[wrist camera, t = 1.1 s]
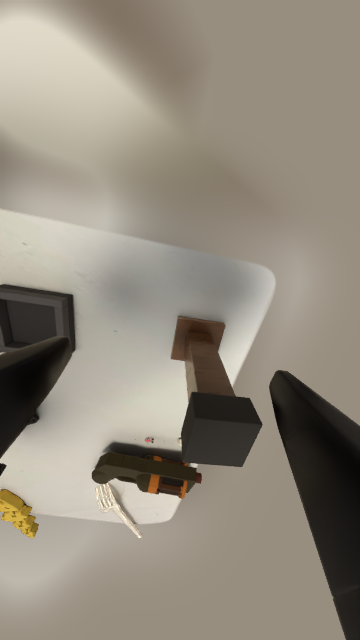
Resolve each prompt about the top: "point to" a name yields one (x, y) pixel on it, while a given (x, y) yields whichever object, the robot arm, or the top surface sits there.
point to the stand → (201, 355)
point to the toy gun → (147, 473)
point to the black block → (219, 429)
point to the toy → (17, 513)
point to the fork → (114, 508)
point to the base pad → (33, 317)
